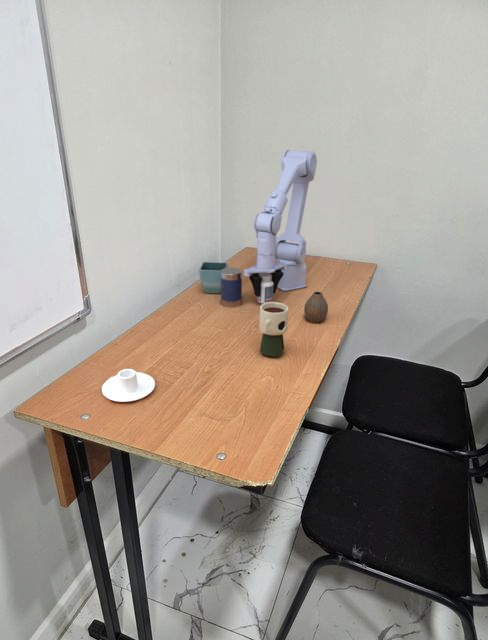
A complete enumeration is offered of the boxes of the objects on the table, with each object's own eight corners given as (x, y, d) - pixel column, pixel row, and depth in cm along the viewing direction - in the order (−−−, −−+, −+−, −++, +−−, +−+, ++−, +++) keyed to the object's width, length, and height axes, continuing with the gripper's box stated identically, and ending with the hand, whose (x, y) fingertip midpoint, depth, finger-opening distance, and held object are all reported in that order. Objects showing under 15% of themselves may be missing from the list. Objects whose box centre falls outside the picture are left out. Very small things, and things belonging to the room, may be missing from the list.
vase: (329, 317, 136) (332, 290, 131) (323, 326, 130) (326, 299, 126) (307, 313, 138) (309, 287, 134) (300, 322, 133) (302, 295, 128)
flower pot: (228, 286, 158) (228, 262, 154) (225, 296, 150) (225, 270, 146) (203, 285, 159) (202, 261, 154) (199, 295, 151) (198, 270, 147)
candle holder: (107, 375, 107) (104, 360, 105) (157, 373, 108) (155, 358, 106) (97, 405, 97) (94, 389, 95) (153, 403, 98) (151, 386, 96)
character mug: (277, 365, 111) (279, 318, 105) (251, 359, 114) (252, 313, 108) (291, 346, 120) (295, 302, 113) (267, 341, 122) (269, 297, 116)
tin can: (235, 297, 149) (235, 266, 144) (245, 304, 144) (245, 272, 139) (217, 301, 147) (217, 269, 141) (226, 308, 141) (226, 275, 136)
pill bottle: (274, 298, 146) (275, 273, 142) (270, 305, 142) (271, 278, 138) (259, 297, 148) (259, 271, 143) (254, 302, 143) (255, 276, 139)
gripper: (252, 260, 131) (251, 302, 138) (293, 253, 137) (290, 294, 143) (240, 253, 136) (240, 294, 143) (280, 247, 142) (278, 287, 149)
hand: (264, 294), depth 144 cm, fingers closed on pill bottle, 5 cm apart
